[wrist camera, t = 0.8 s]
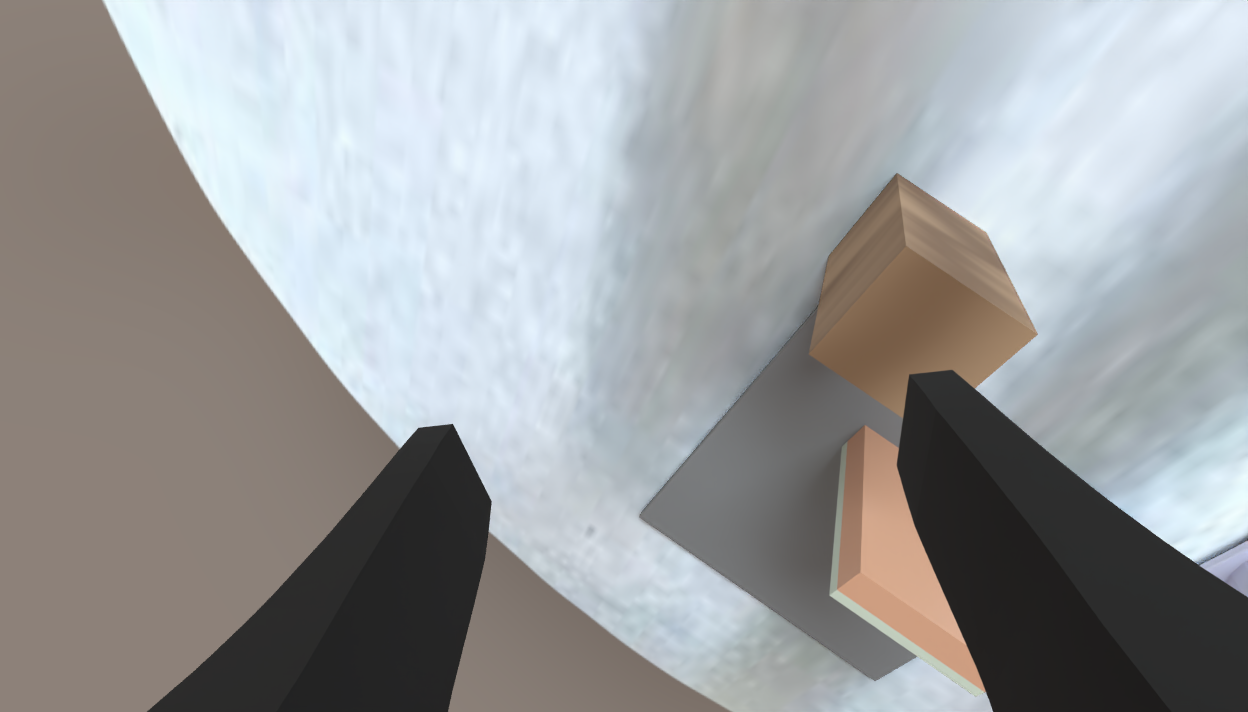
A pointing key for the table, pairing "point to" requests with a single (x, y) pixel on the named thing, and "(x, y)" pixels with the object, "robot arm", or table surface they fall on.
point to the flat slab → (891, 562)
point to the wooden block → (915, 298)
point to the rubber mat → (781, 498)
